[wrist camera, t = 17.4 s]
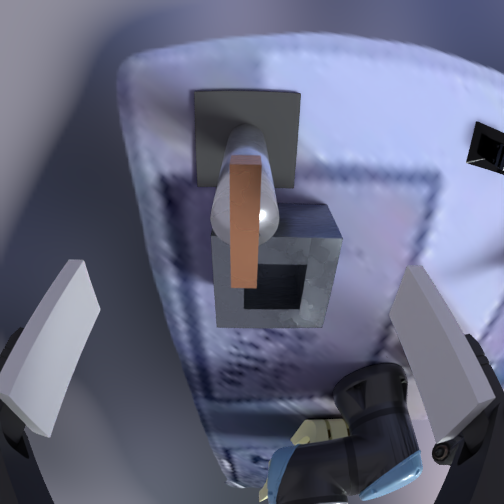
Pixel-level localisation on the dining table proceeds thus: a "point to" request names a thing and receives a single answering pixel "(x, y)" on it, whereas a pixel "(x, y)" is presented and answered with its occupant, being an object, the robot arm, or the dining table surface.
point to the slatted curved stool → (314, 437)
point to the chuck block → (282, 273)
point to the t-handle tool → (245, 202)
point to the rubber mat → (246, 112)
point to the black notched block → (487, 148)
